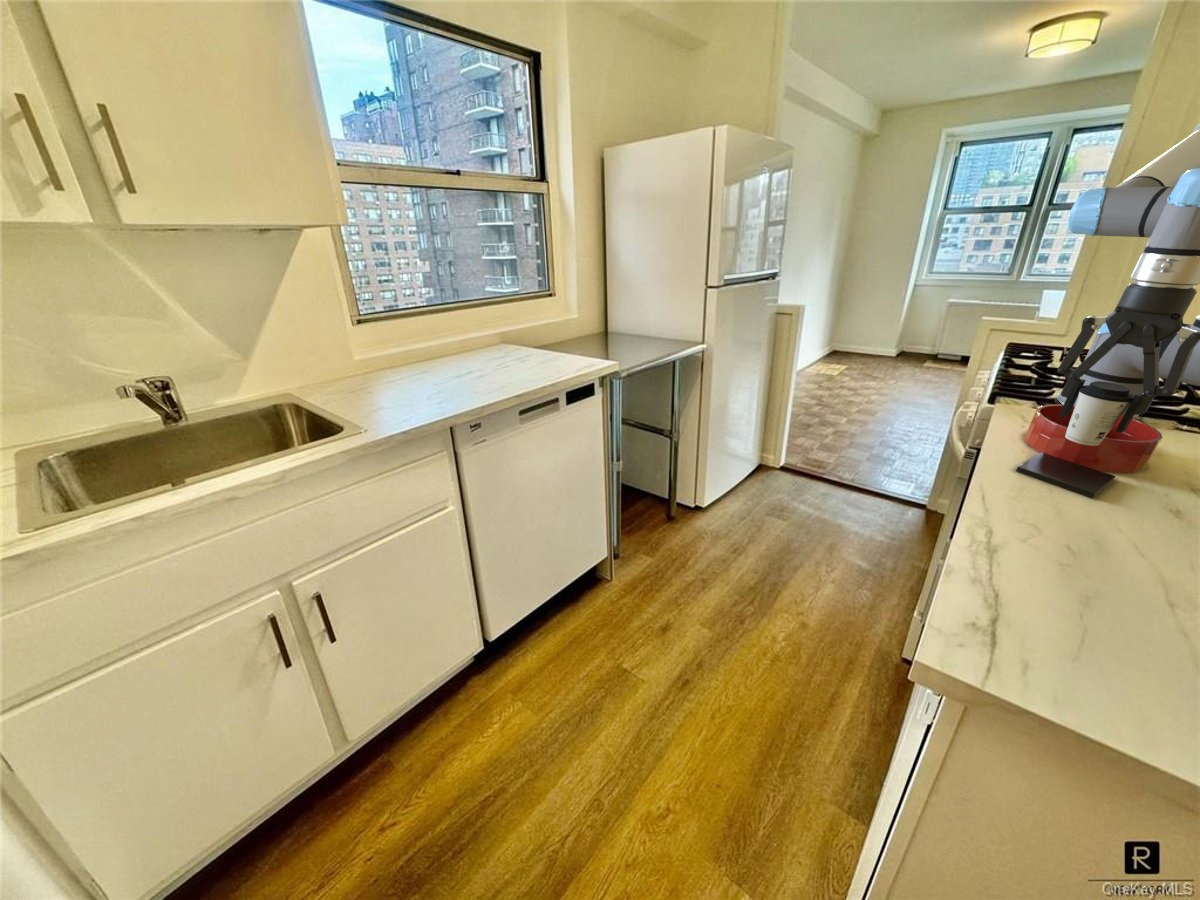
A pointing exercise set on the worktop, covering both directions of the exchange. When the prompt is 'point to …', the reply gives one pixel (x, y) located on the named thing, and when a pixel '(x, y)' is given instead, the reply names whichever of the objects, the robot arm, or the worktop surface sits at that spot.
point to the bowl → (1109, 455)
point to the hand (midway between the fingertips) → (1091, 422)
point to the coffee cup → (1097, 411)
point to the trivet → (1066, 474)
